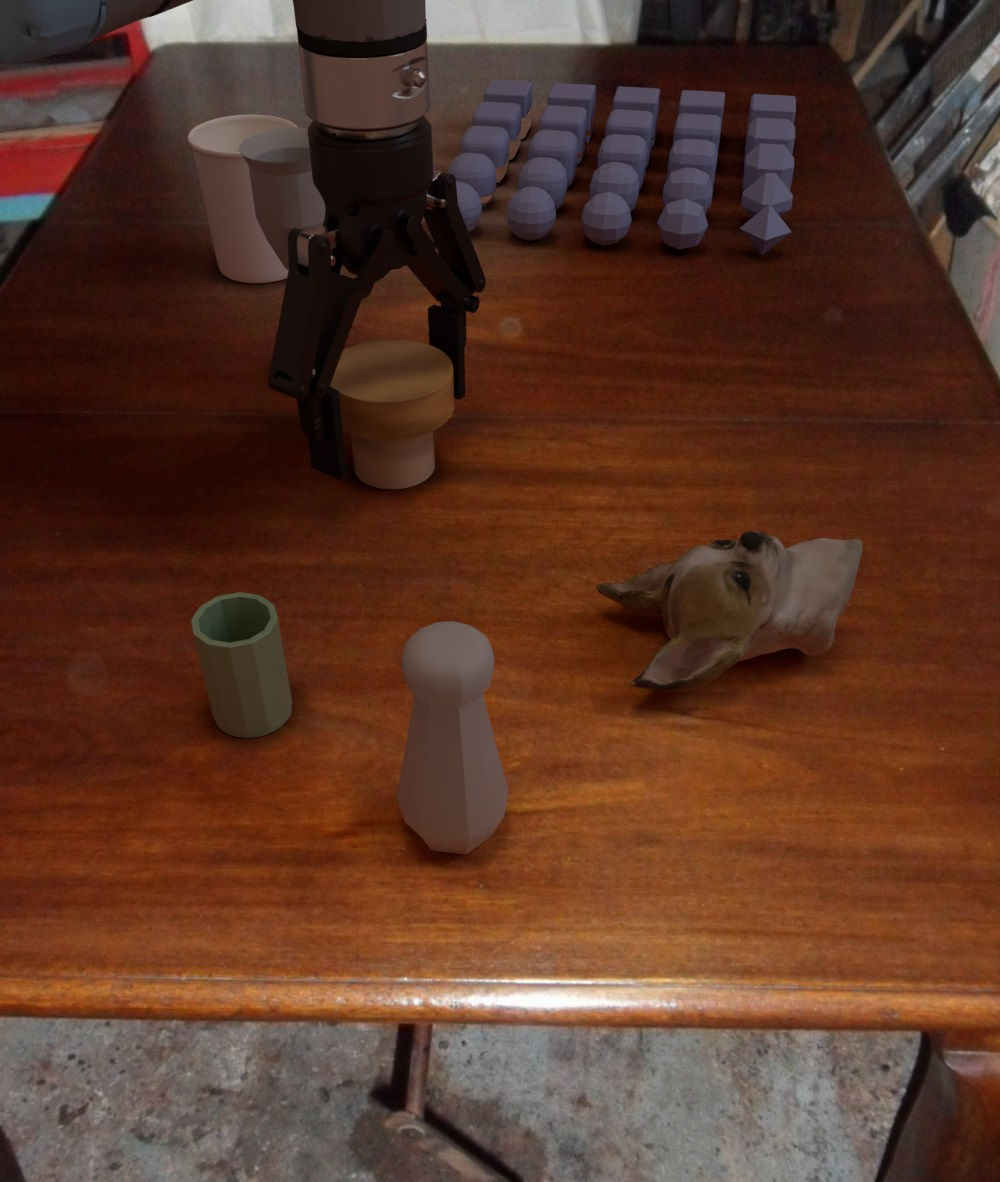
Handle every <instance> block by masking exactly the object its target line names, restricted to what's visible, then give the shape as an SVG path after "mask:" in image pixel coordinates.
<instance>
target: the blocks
mask: <svg viewBox="0 0 1000 1182" xmlns="http://www.w3.org/2000/svg"><path fill="white" fill-rule="evenodd" d="M596 88H597V86H596V85H595V84H584V83H568V82H567V83H566V82H565V83H564V82H554V83H553V85H552V87H551V89H550V91H549V93H548V95H547V106H545V107H544V109H543V110H542V112H541V115H540V117H539V118H538V119H539V120H538V128H537V130H538V131H537V132H536V133H534V135H533V136H532V139H531V140H530V144H529V145H528V149H527V150H528V151H527V152H528V154H527V156H528V157H527V162H525V163H524V165H523V166H522V167H521V168H520V171H519V174H518V179H517V191H516V192H515V193H513V195H512V196H511V198H510V199H509V201H508V203H507V206H506V220H507V225H508V227H509V229H510V230H511V232H512V234H514V235H515V236H516V237H518V238H519V239H521V240H524V241H525V240H526V241H529V242H530V241H531V242H532V241H537V240H540V239H542V238H543V237H546V236H547V235H548V234H549V233H550V232H551V230H552V229H553V227H554V225H555V222H556V217H557V212H556V211H557V210H558V209H559V208H560V207H561V206H562V205H563V203H564V202H565V199H566V196H567V191H568V187H570V186H571V185H572V183H573V182H574V179H575V176H576V174H577V170H576V169H578V165H579V164H581V162H582V160H583V157H584V155H585V152H586V147H587V144H589V143H590V141H591V138H592V135H593V133H594V129H595V123H594V124H593V126H592V129H591V132H590V135H589V136H586V130H590V128H591V124H592V121H593V118H594V119H595V112H596V111H595V110H596V92H597V91H596V90H597V89H596ZM660 98H661V89H660V88H656V87H655V88H653V87H638V86H636V87H635V86H621V85H619V86H617V88H616V91H615V94H614V97H613V100H612V111H610V113H609V114H608V115H609V116H608V118H607V121H606V125H605V131H604V132H605V133H604V134H605V135H604V138H603V139H602V140H601V144H600V147H599V150H598V153H597V166H596V167H597V168H596V170H595V171H594V172H593V175H592V178H591V180H590V184H589V200H588V201H587V202H586V203H585V204H584V208H583V210H582V213H581V215H580V218H581V219H580V220H581V224H582V229H583V232H584V234H585V236H586V237H587V238H588V239H589V240H590V241H591V243H594V244H597V245H600V246H602V247H606V246H610V245H615V244H617V243H618V242H619V241H621V240H622V238H624V237H625V236H626V235H627V234H628V233H629V230H630V227H631V223H632V220H633V219H632V216H631V215H632V214H631V212H633V210H634V209H636V205H637V202H638V200H639V195H640V189H641V188H642V187H643V183H644V180H645V176H646V170H647V169H646V168H647V167H648V166H649V162H650V158H651V154H652V148H653V147H654V144H655V140H656V136H657V131H658V119H659V109H660ZM725 99H726V93H725V92H724V91H709V90H690V89H682V90H681V93H680V99H679V102H678V109H677V110H678V111H677V118H676V120H675V125H674V129H673V138H672V147H671V148H670V152H669V156H668V164H667V174H666V181H665V183H664V186H663V189H662V197H661V201H662V205H663V207H664V208H663V210H662V212H661V213H660V216H659V218H658V220H657V222H656V224H657V227H658V230H659V234H660V236H661V239H662V242H663V243H664V244H665V245H667V246H669V247H672V248H675V249H677V250H684V249H688V248H692V247H695V246H698V245H699V244H700V242H701V241H702V238H703V237H704V235H705V233H706V232H707V229H708V228H709V223H708V220H707V217H706V214H707V212H708V211H709V209H710V207H711V205H712V200H713V195H714V194H713V193H714V186H715V178H716V170H717V164H718V155H719V149H720V142H721V141H720V140H721V134H722V133H721V131H722V125H723V117H724V116H723V115H724V110H725V109H724V108H725V107H724V106H725ZM531 105H532V106H533V82H532V81H531V80H530V81H529V80H528V81H527V80H511V79H494V78H493V79H490V81H489V83H488V85H487V86H486V88H485V90H484V92H483V101H481V102H480V103H478V106H477V108H476V109H475V111H474V112H473V114H472V117H471V126H470V127H468V128H467V129H466V131H464V134H463V136H462V138H461V139H460V141H459V154H457V156H455V158H454V159H453V160H452V161H451V162H450V164H449V166H448V169H447V173H449V174H453V175H454V176H455V179H456V187H457V198H458V206H459V209H460V211H461V214H462V217H463V219H464V222H465V225H466V227H467V228H470V227H473V226H475V225H476V224H477V223H478V224H479V222H480V220H481V219H482V212H483V208H484V207H485V206H487V204H489V203H490V202H491V201H492V199H491V200H490V201H488V202H486V203H481V199H480V198H481V197H487V196H489V195H492V194H493V193H494V191H495V192H496V189H497V184H496V170H495V168H500V167H503V166H504V165H505V164H506V162H507V160H508V157H509V141H515V140H516V138H517V136H518V134H519V132H520V130H521V118H526V116H527V114H528V112H529V110H530V107H531ZM796 112H797V98H796V97H795V95H784V94H783V95H781V94H766V93H765V94H763V93H753V94H752V95H751V98H750V105H749V113H748V120H747V128H746V134H745V146H744V159H743V160H744V161H743V176H742V187H741V188H742V190H743V191H742V196H741V202H740V206H741V207H742V208H743V210H744V211H745V212H746V214H747V215H748V216H749V217H750V219H749V220H748V221H747V222H745V223H744V224H743V225H741V227H739V229H740V231H741V232H742V233H743V235H745V237H746V238H747V239H748V240H749V242H750V243H751V245H753V247H754V248H755V249H756V250H757V252H758V253H759V254H760V256H763V255H764V254H766V253H767V252H768V251H770V249H772V248H773V247H775V246H776V245H777V244H778V243H780V242H781V241H783V239H785V238H786V237H787V236H789V235H790V234H791V233H792V230H791V229H790V228H789V226H788V225H787V224H786V222H785V221H784V220H783V219H782V217H783V216H784V215H786V214H787V213H788V212H790V210H791V209H792V206H793V200H794V195H793V193H792V192H791V188H792V183H793V176H794V169H795V157H794V156H793V152H794V148H795V141H796V126H795V120H796V114H797V113H796ZM656 127H657V128H656ZM655 131H656V132H655ZM652 138H654V139H653V140H652ZM585 141H586V146H585V149H584V152H583V155H582V157H581V158H577V153H578V154H579V153H582V151H583V148H584V144H585ZM575 172H576V173H575ZM574 175H575V176H574ZM573 178H574V179H573ZM571 179H573V180H572V181H571V182H568V183H567V181H568V180H571ZM497 183H498V184H500V183H501V182H497ZM495 188H496V189H495ZM494 194H495V193H494ZM478 224H477V225H478ZM474 229H475V228H473V229H471V230H468V233H469V234H470V232H472V231H473V230H474Z"/></svg>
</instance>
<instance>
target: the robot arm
mask: <svg viewBox="0 0 1000 1182" xmlns="http://www.w3.org/2000/svg"><path fill="white" fill-rule="evenodd" d="M193 1H194V0H0V62H1V63H5V64H24V63H27V62H33V61H37V60H41V59H45V58H47V57H52V56H55V55H59V54H69V53H73V52H75V51H79V50H81V49H82V48H83V47H84V46H87V45H88V44H90V43H91V42H92V41H94V40H97V39H98V38H101V37H103V36H105V35H107V34H110V33H112V32H115V31H118V30H119V29H122V28H124V27H127V26H129V25H131V24H133V23H136V22H139V21H140V20H144V19H147V18H152V17H155V16H157V15H161V14H163V13H166V12H168V11H170V10H173V9H175V8H178V7H180V6H183V5H185V4H188V3H190V2H193ZM292 3H293V4H292V6H293V11H294V12H293V13H294V23H295V28H296V36H297V44H298V45H297V46H298V53H299V54H298V55H299V66H300V67H299V68H300V77H301V87H302V95H303V105H304V107H303V108H304V112H305V115H306V116H307V117H308V118H309V119H310V120H311V123H310V125H309V126H308V127H307V128H308V141H309V150H310V160H311V169H312V178H313V183H314V185H315V187H316V188H317V190H318V191H319V193H320V195H321V197H322V198H323V200H324V203H325V217H324V222H323V226H322V227H321V228H318V229H315V230H312V231H309V232H308V231H305V230H302V229H299V228H293V229H291V231H290V232H289V234H288V259H289V271H288V276H287V279H286V283H285V288H284V293H283V299H282V304H281V309H280V310H281V311H280V314H279V319H278V326H277V329H276V330H277V331H276V335H275V342H274V347H273V351H272V352H273V353H272V357H271V362H270V368H269V373H268V378H267V380H268V381H267V385H268V387H269V388H270V389H271V390H273V391H276V392H279V393H281V394H284V395H286V396H288V397H290V398H294V399H296V404H297V412H298V419H299V428H300V431H301V432H302V434H303V435H305V436H306V438H307V444H308V451H309V459H310V460H309V461H310V468H311V469H313V470H315V471H318V472H320V473H322V474H325V475H326V476H329V477H330V478H333V479H336V480H338V481H342V480H344V479H345V478H346V477H348V476H349V474H348V464H347V454H346V446H345V437H344V431H343V426H342V417H341V407H340V397H339V390H336V389H334V388H331V387H330V384H331V382H332V379H333V376H334V373H335V371H336V368H337V365H338V363H339V360H340V357H341V354H342V352H343V350H344V349H345V346H346V343H347V340H348V338H349V335H350V333H351V330H352V327H353V324H354V322H355V319H356V316H357V314H358V311H359V308H360V305H361V302H362V301H363V300H364V299H366V298H368V297H369V296H370V295H371V293H372V291H373V288H374V286H375V283H376V282H378V281H380V280H382V279H383V278H385V277H386V276H387V275H389V273H390V272H391V271H393V270H400V269H402V268H404V267H405V266H407V268H408V269H409V270H410V272H411V273H412V274H413V275H414V276H415V277H416V279H418V281H419V282H420V283H421V284H422V286H424V288H425V289H426V290H427V291H428V293H429V294H430V295H431V296H432V298H434V300H435V301H436V302H438V303H439V305H437V304H432V305H430V306H429V307H427V321H428V345H431V346H433V347H436V348H437V349H439V350H441V351H442V352H444V353H445V354H446V355H447V356H448V357H449V359H450V360H451V362H452V364H453V378H454V400H458V401H460V400H462V399H463V398H465V397H466V362H465V361H466V355H465V354H466V353H465V348H466V345H467V340H468V337H467V312H468V313H470V314H475V313H477V311H479V307H480V303H481V301H480V300H481V299H480V297H479V296H476V295H474V294H475V293H480V294H481V293H482V292H483V291H484V290H485V289H486V288H485V287H486V285H487V284H486V283H487V278H486V276H485V272H484V271H483V267H482V265H481V262H480V260H479V257H478V255H477V252H476V249H475V246H474V244H473V241H472V238H471V235H470V232H469V233H468V230H467V227H466V225H465V222H464V219H463V217H462V214H461V211H460V209H459V206H458V198H457V187H456V179H455V176H454V175H453V174H449V173H448V172H445V171H442V170H438V169H435V168H434V155H433V154H434V153H433V151H434V149H433V128H432V127H433V126H432V124H431V123H430V121H429V120H428V118H427V117H426V115H427V114H428V113H429V111H430V110H431V100H430V81H429V79H430V78H429V77H430V76H429V61H428V60H429V59H428V26H427V20H428V19H427V15H426V14H427V13H426V12H427V9H426V0H292ZM423 219H424V221H425V224H426V226H427V229H428V231H429V234H430V235H429V234H428V233H427V231H426V230H425V229H424V225H423V224H422V221H423ZM430 236H431V237H430ZM343 267H344V268H345V270H346V271H347V272H348V273H349V274H351V275H353V276H355V277H354V278H353V277H350V276H347V275H344V274H341V270H342V268H343ZM313 369H315V372H316V373H315V375H312V373H313Z"/></svg>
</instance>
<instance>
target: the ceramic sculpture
mask: <svg viewBox="0 0 1000 1182" xmlns="http://www.w3.org/2000/svg"><path fill="white" fill-rule="evenodd" d="M863 551H864V548H863V541H862V540H861V539H859V538H851V539H845V540H844V539H835V538H828V537H819V538H816V539H812V540H806V541H801V542H798V543H796V544H793V545H791V546H789V547H785V546H784V544H783V542H782V541H781V540H779V539H778V538H777V537H776V536H773V535H768V534H767V533H766V532H764V531H760V530H759V531H758V530H757V531H756V530H754V531H751V530H748V531H744V532H743V533H742V534H741V535H740V536H739V538H738V539H737V540H736V539H715V540H712V541H711V542H709V544H707V545H703V544H698V545H695V546H692V547H690V548H689V549H687V550H686V551H685V552H684V553H683V554H681V555H680V556H679V557H677V559H675V560H673V561H671V562H668V563H659V564H656V565H655V566H653V567H650V568H648V569H647V570H646V571H645V572H644V573H638V574H636V575H633V576H632V577H630V578H629V579H627V580H624V581H622V582H602V583H597V584H595V590H597V592H598V593H599V594H601V595H602V596H604V597H606V598H608V599H610V600H611V601H613V602H615V603H616V604H618V605H619V606H622V607H624V608H626V609H628V610H630V611H633V612H634V613H637V614H639V615H646V616H647V615H648V616H649V615H662V622H663V625H664V628H665V631H666V634H667V636H668V637H669V640H668V641H667V642H665V643H664V644H663V645H662V646H660V647H659V648H658V649H657V650H656V652H655V653H654V654H653V656H652V658H651V660H650V661H649V663H647V665H646V667H645V668H644V670H643V671H642V672H641V673H640V674H639V675H638V676H636V677H635V678H633V679H632V681H630V686H631V687H632V688H636V689H643V690H651V691H658V692H691V691H693V690H697V689H700V688H703V687H704V686H706V685H709V684H710V683H712V682H713V681H715V680H716V679H717V678H719V677H720V676H722V675H723V674H725V673H726V671H728V670H729V669H730V668H731V667H733V666H734V665H736V664H737V663H739V662H742V661H746V660H750V659H752V658H756V657H758V656H763V655H766V654H767V655H768V654H772V653H775V652H776V653H777V652H779V651H783V650H786V649H796V650H799V651H800V652H801V653H803V654H804V655H806V656H811V657H818V656H821V655H823V654H825V653H826V652H827V651H828V650H830V648H831V647H832V645H833V643H834V641H835V630H836V626H837V622H838V619H839V617H840V616H841V615H842V613H843V611H844V610H845V609H846V607H847V606H848V604H849V602H850V598H851V595H852V594H853V590H854V588H855V581H856V578H857V575H858V572H859V567H860V562H861V557H862V553H863Z"/></svg>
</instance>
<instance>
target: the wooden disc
mask: <svg viewBox="0 0 1000 1182" xmlns="http://www.w3.org/2000/svg"><path fill="white" fill-rule="evenodd" d="M330 387H331V388H334V389H336V390H339V397H340V407H341V417H342V426H343V432H344V433H346V434H349V435H350V436H351V435H354V436H357V437H361V438H365V439H371V440H384V441H391V440H403V439H409V438H414V437H418V436H422V435H424V434H427V433H430V432H432V431H433V432H434V431H436V430H437V429H439V428H441V427H442V426H443V425H445V424H446V423H447V422H448V421H449V420H450V419H451V417H452V416H453V413H454V411H455V398H454V378H453V364H452V362H451V360H450V359H449V357H448V356H447V355H446V354H445V353H444V352H442V351H441V350H439V349H437V348H436V347H433V346H431V345H429V343H425V342H421V341H417V340H411V339H402V338H384V339H374V340H373V339H372V340H368V341H364V342H360V343H356V344H354V345H350V346H348V347H346V348H344V349H343V352H342V354H341V357H340V360H339V363H338V365H337V368H336V371H335V373H334V376H333V379H332V382H331V384H330Z"/></svg>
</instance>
